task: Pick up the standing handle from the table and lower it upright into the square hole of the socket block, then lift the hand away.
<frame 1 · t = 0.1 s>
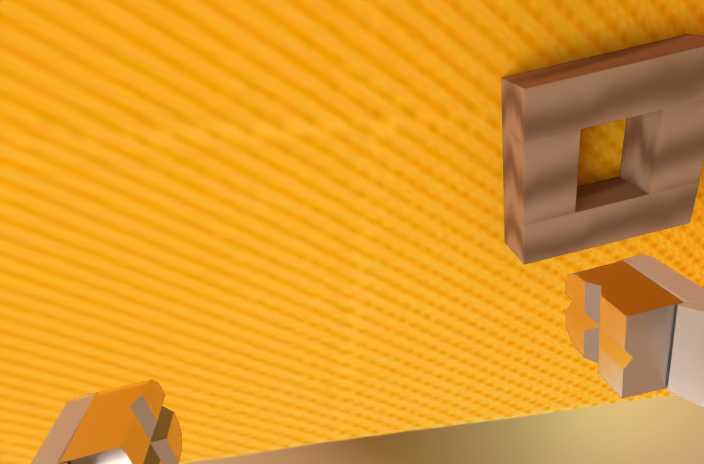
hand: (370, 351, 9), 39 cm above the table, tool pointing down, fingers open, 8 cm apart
socket block: (588, 147, 52), on the table
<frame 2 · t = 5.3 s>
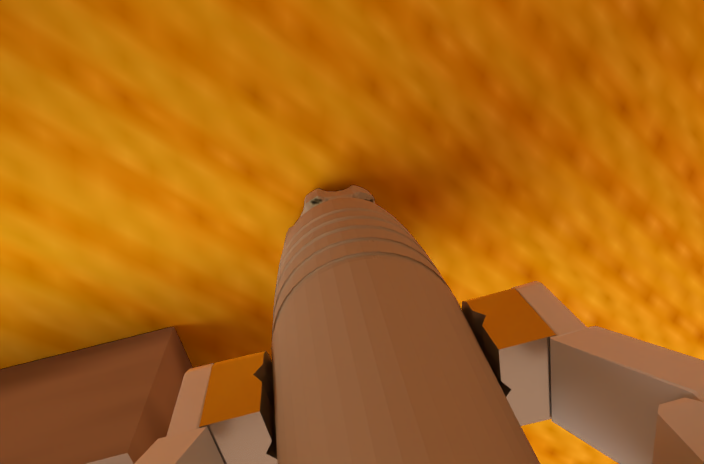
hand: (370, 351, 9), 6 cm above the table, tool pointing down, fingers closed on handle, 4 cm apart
handle: (337, 226, 15), on the table, touching gripper
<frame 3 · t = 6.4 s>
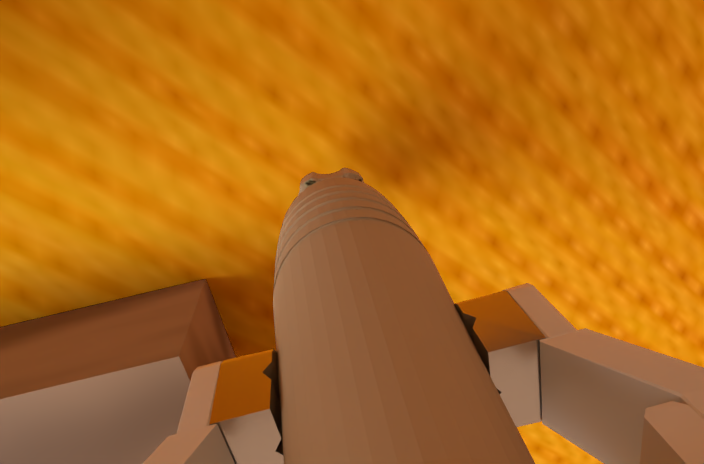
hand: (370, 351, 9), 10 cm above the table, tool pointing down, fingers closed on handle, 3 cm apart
handle: (332, 207, 16), point 2 cm above the table, touching gripper
when the fingers open (8 cm above the table, at t = 12.7 s): handle stays where it is, resting in socket block.
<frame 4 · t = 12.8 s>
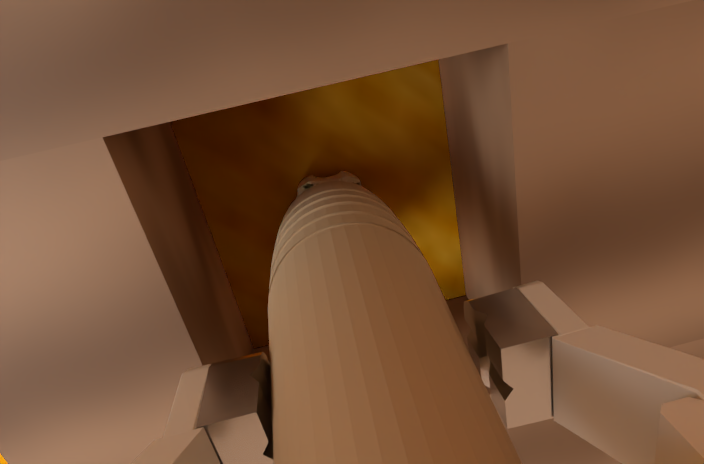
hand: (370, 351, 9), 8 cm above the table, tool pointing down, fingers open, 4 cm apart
socket block: (334, 211, 16), on the table
handle: (330, 210, 16), resting in socket block
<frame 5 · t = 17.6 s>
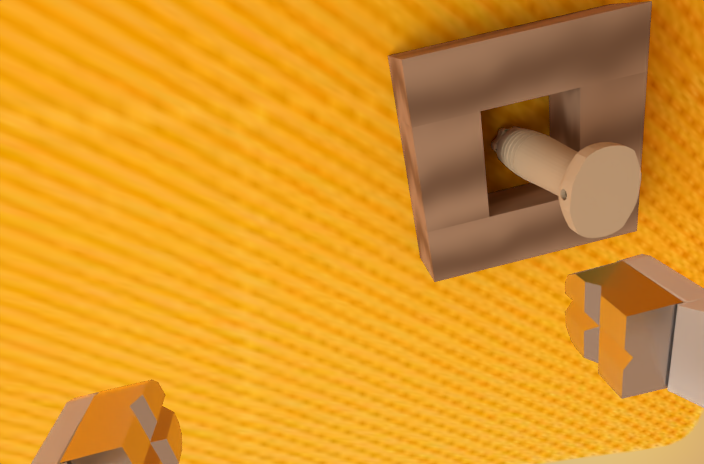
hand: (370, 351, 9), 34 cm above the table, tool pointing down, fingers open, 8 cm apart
socket block: (507, 142, 44), on the table
handle: (504, 141, 44), resting in socket block
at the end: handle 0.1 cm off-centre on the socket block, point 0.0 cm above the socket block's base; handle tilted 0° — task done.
